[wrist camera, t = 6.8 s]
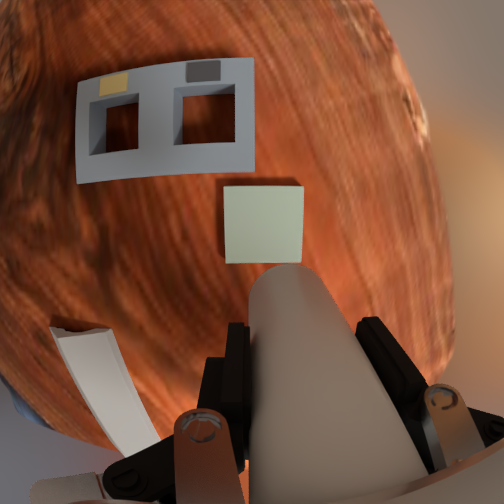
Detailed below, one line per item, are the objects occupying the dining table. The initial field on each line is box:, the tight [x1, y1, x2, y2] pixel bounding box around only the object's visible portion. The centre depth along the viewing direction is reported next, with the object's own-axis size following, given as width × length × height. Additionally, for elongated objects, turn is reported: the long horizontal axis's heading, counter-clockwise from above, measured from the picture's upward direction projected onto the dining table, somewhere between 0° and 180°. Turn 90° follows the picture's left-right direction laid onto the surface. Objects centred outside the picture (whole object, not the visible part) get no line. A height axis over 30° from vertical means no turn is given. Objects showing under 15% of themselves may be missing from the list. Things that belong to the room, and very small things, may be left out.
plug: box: [249, 264, 429, 504], centre depth 8 cm, size 4×4×13 cm
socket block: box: [75, 58, 255, 184], centre depth 25 cm, size 18×11×4 cm, turn 90°
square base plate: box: [224, 185, 304, 263], centre depth 30 cm, size 8×8×1 cm
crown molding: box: [49, 327, 161, 457], centre depth 38 cm, size 29×12×4 cm, turn 6°
